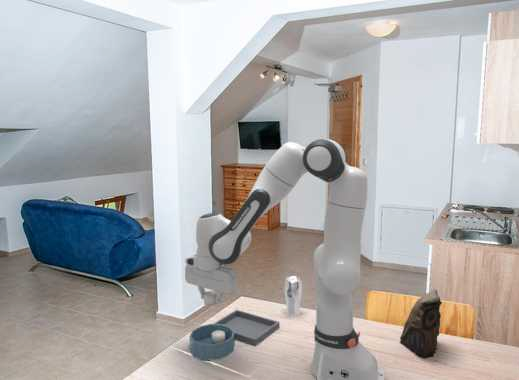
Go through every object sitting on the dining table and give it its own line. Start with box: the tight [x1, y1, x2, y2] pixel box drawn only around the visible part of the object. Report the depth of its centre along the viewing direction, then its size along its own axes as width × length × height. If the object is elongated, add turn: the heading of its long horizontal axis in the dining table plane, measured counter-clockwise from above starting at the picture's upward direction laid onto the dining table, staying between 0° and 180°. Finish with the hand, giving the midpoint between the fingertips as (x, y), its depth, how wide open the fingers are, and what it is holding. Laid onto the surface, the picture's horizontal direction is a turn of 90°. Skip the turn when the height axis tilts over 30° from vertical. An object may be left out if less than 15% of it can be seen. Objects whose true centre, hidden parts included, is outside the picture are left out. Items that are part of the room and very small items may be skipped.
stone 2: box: [212, 330, 225, 344], centre depth 148 cm, size 5×5×3 cm
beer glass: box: [284, 275, 303, 317], centre depth 171 cm, size 7×7×15 cm
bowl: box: [189, 323, 236, 362], centre depth 145 cm, size 15×15×6 cm
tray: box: [213, 309, 280, 347], centre depth 158 cm, size 20×16×3 cm
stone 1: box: [203, 290, 218, 307], centre depth 143 cm, size 5×5×3 cm
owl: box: [399, 288, 443, 360], centre depth 143 cm, size 13×13×20 cm
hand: (210, 300), depth 143 cm, fingers closed on stone 1, 5 cm apart
